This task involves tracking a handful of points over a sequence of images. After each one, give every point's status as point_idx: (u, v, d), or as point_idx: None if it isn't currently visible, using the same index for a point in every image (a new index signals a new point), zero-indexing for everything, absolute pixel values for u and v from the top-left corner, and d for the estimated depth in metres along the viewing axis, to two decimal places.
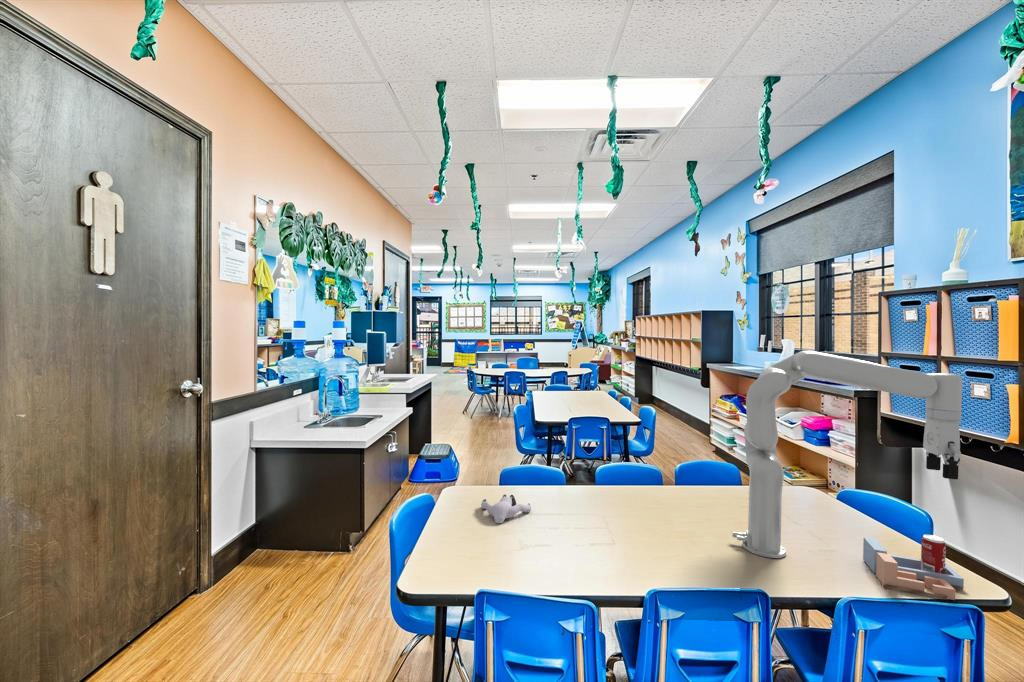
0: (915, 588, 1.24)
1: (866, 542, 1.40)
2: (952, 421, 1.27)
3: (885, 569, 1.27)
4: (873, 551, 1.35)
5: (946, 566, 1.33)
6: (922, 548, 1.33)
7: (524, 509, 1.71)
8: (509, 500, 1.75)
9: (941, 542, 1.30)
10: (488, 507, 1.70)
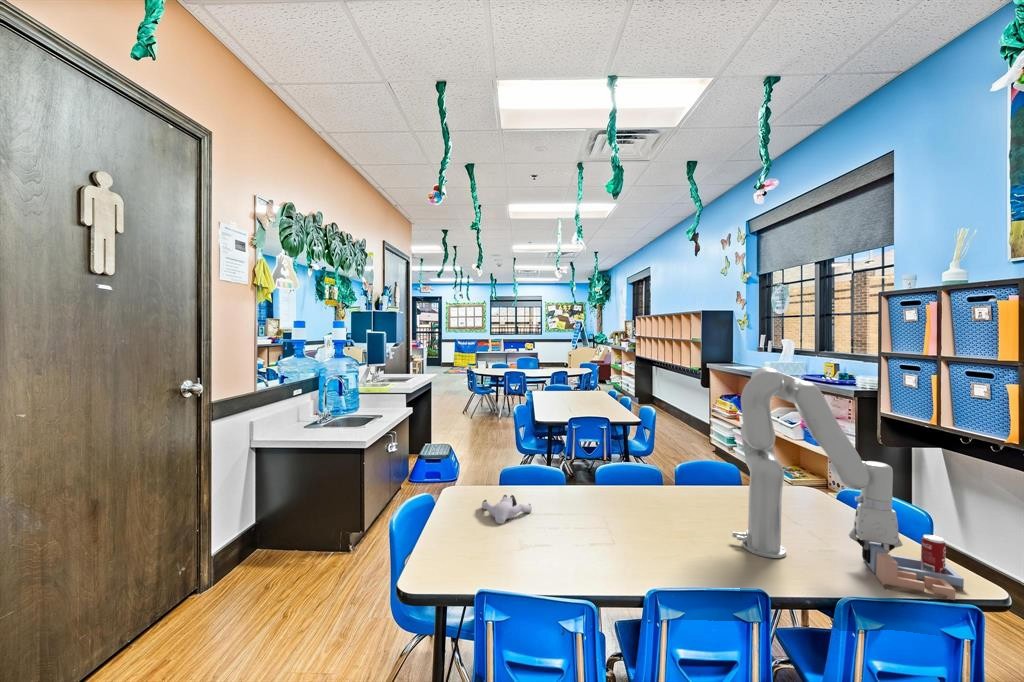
0: (915, 588, 1.24)
1: None
2: None
3: (885, 569, 1.27)
4: (873, 551, 1.35)
5: (946, 566, 1.33)
6: (922, 548, 1.33)
7: (525, 509, 1.71)
8: (510, 500, 1.75)
9: (941, 542, 1.30)
10: (489, 508, 1.69)
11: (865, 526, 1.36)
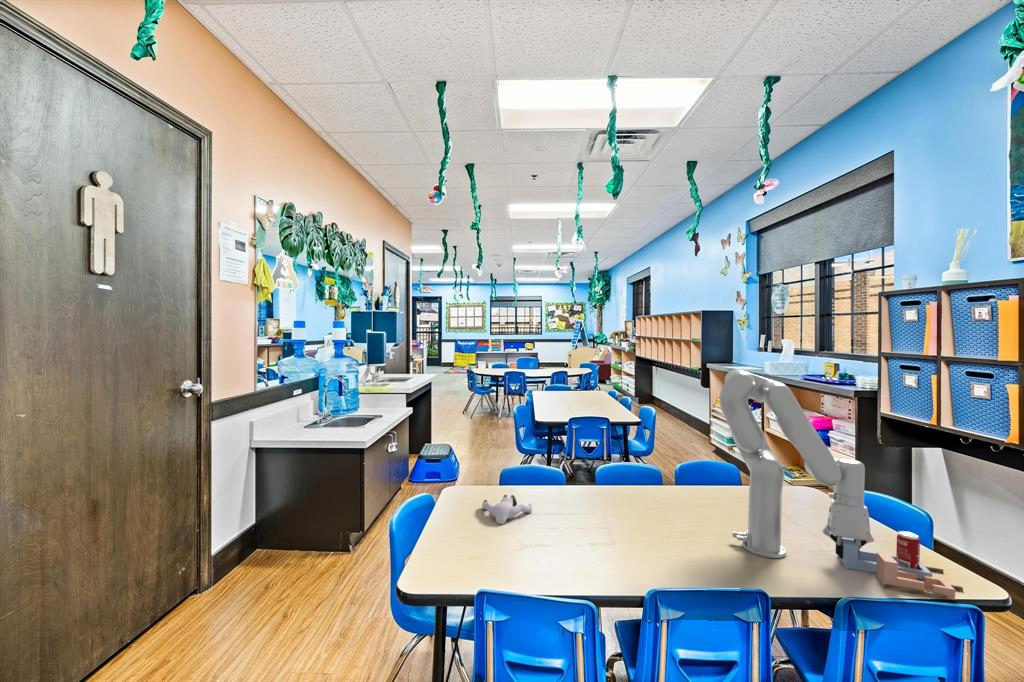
0: (915, 588, 1.24)
1: None
2: None
3: (885, 569, 1.27)
4: (845, 546, 1.37)
5: None
6: (898, 545, 1.35)
7: (525, 509, 1.71)
8: (510, 500, 1.75)
9: (916, 538, 1.32)
10: (489, 508, 1.69)
11: (838, 522, 1.39)
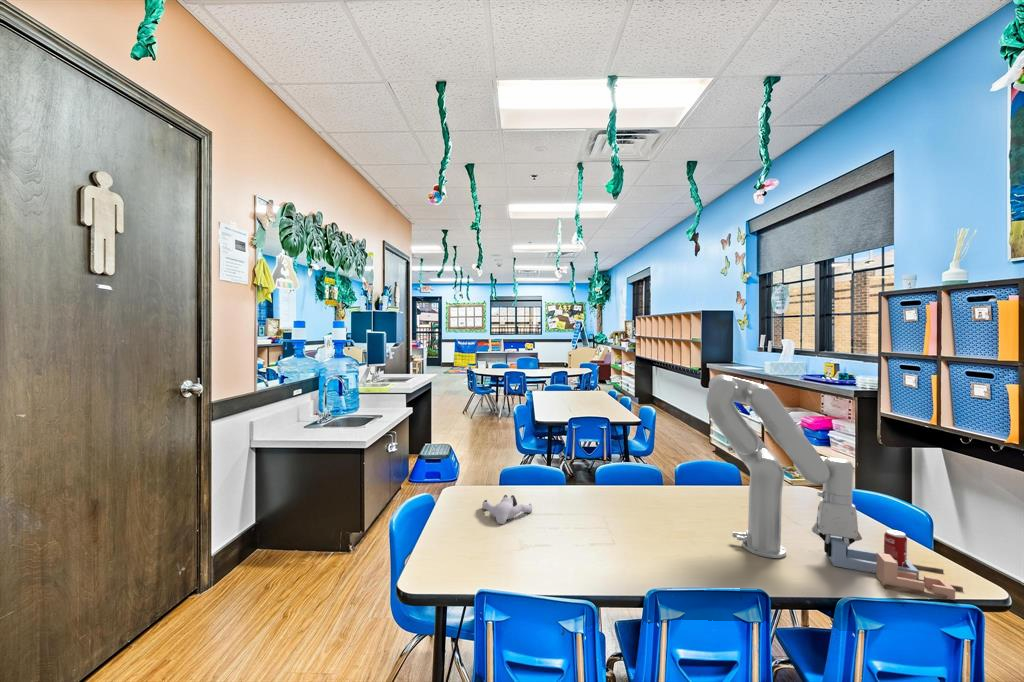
0: (915, 588, 1.24)
1: None
2: None
3: (885, 569, 1.27)
4: (833, 544, 1.38)
5: None
6: (885, 543, 1.36)
7: (525, 509, 1.71)
8: (510, 500, 1.74)
9: (903, 536, 1.33)
10: (489, 508, 1.69)
11: (826, 520, 1.40)
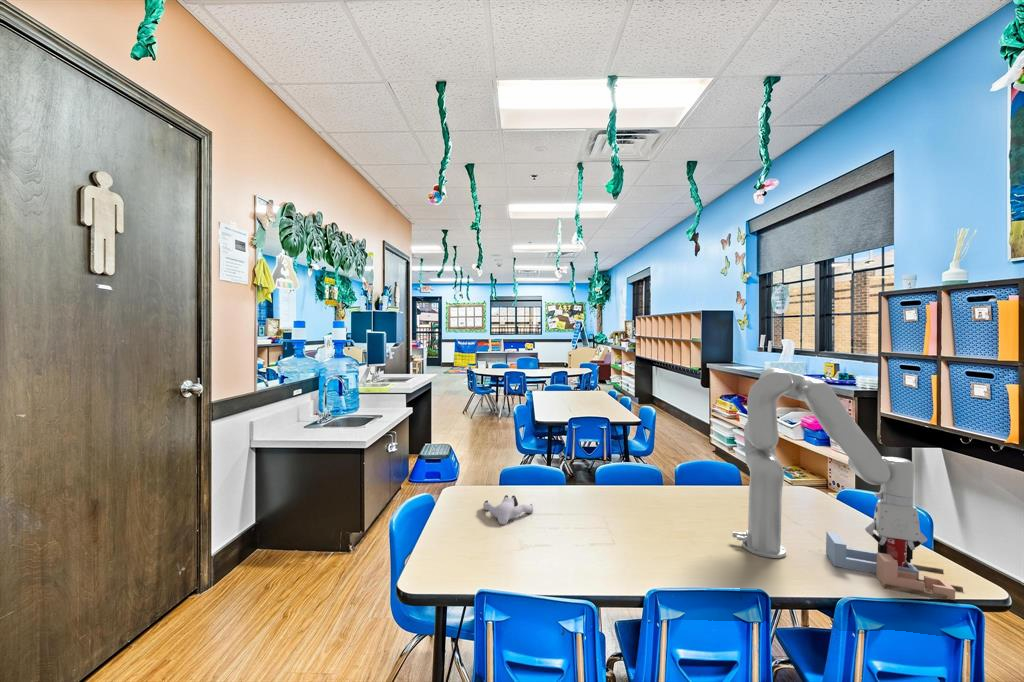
0: (915, 588, 1.24)
1: (828, 536, 1.44)
2: None
3: (885, 569, 1.27)
4: (833, 544, 1.38)
5: None
6: (885, 543, 1.36)
7: (527, 509, 1.71)
8: (511, 501, 1.74)
9: None
10: (491, 508, 1.69)
11: (885, 522, 1.35)
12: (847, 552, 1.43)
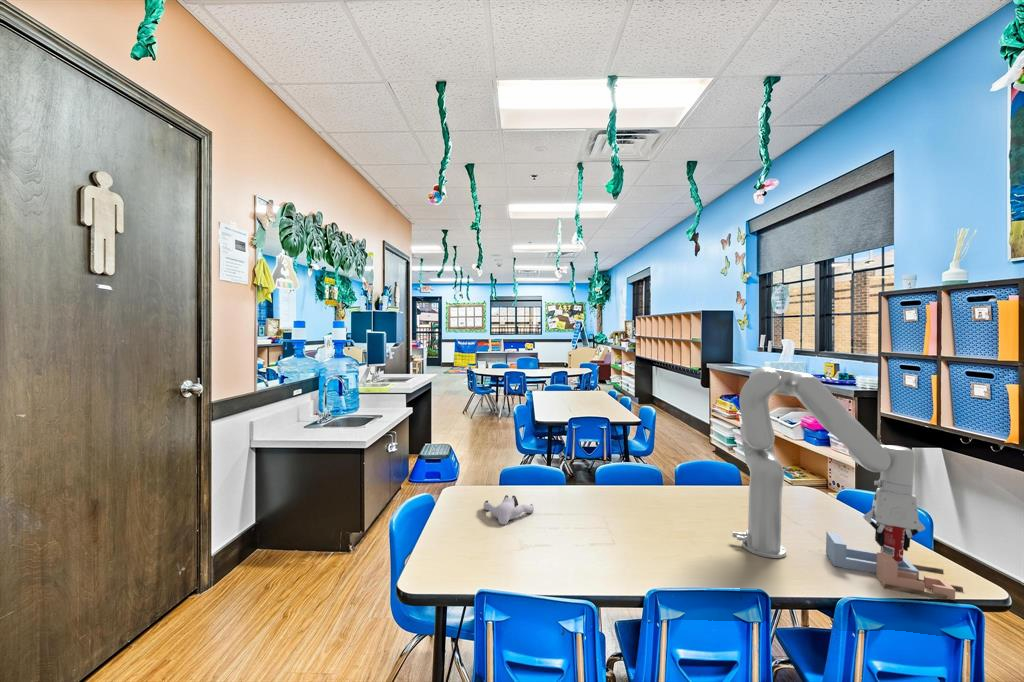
0: (915, 588, 1.24)
1: (828, 536, 1.44)
2: None
3: (885, 569, 1.27)
4: (834, 544, 1.38)
5: (904, 559, 1.37)
6: (883, 531, 1.36)
7: (527, 510, 1.71)
8: (512, 501, 1.74)
9: None
10: (491, 508, 1.68)
11: (884, 510, 1.35)
12: (847, 552, 1.43)
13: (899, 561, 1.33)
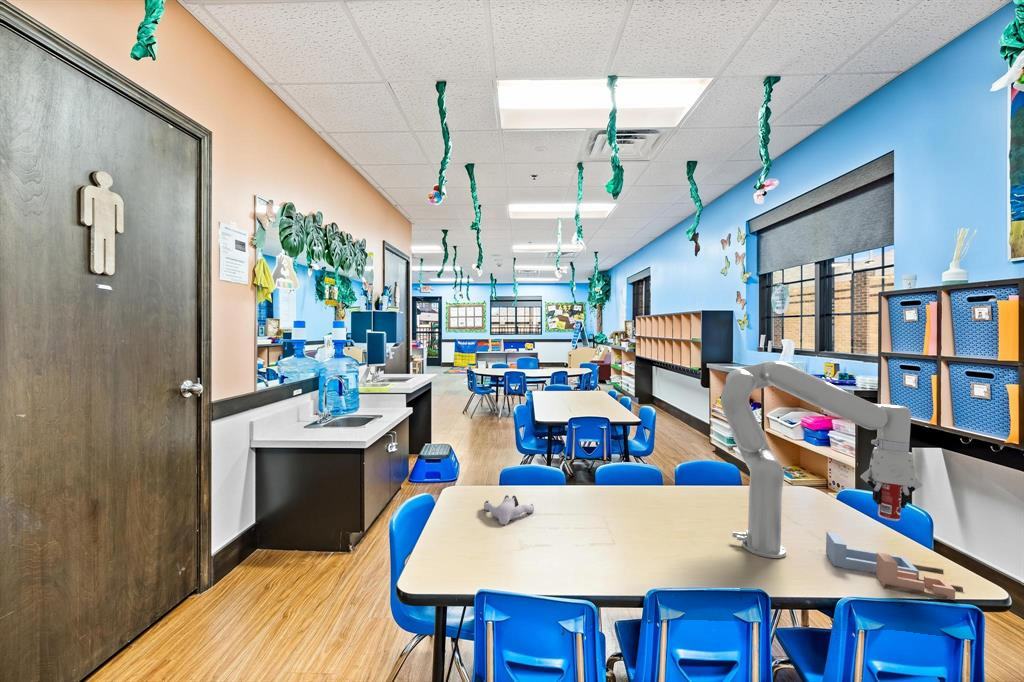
0: (915, 588, 1.24)
1: (828, 536, 1.44)
2: None
3: (885, 569, 1.27)
4: (834, 544, 1.38)
5: (904, 559, 1.37)
6: (880, 489, 1.37)
7: (528, 510, 1.71)
8: (512, 501, 1.74)
9: None
10: (492, 508, 1.68)
11: (881, 468, 1.35)
12: (847, 552, 1.43)
13: (896, 518, 1.34)
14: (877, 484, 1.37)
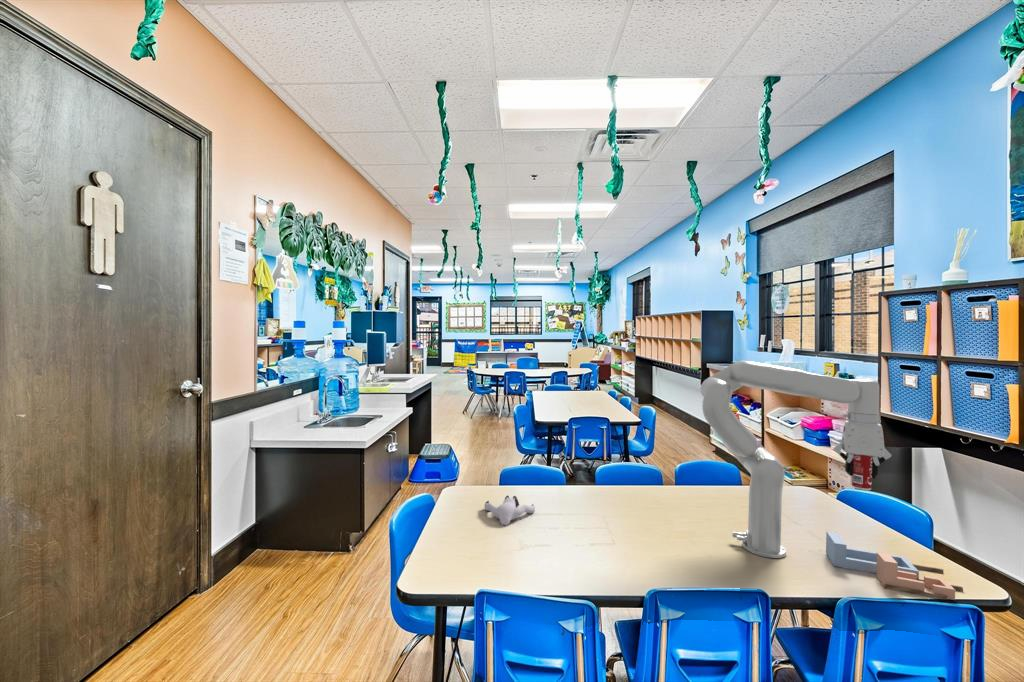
0: (915, 588, 1.24)
1: (828, 536, 1.44)
2: None
3: (885, 569, 1.27)
4: (834, 544, 1.38)
5: (904, 559, 1.37)
6: (852, 461, 1.42)
7: (529, 510, 1.70)
8: (513, 501, 1.74)
9: None
10: (493, 509, 1.68)
11: (852, 440, 1.40)
12: (847, 552, 1.43)
13: (868, 488, 1.39)
14: (849, 456, 1.42)
